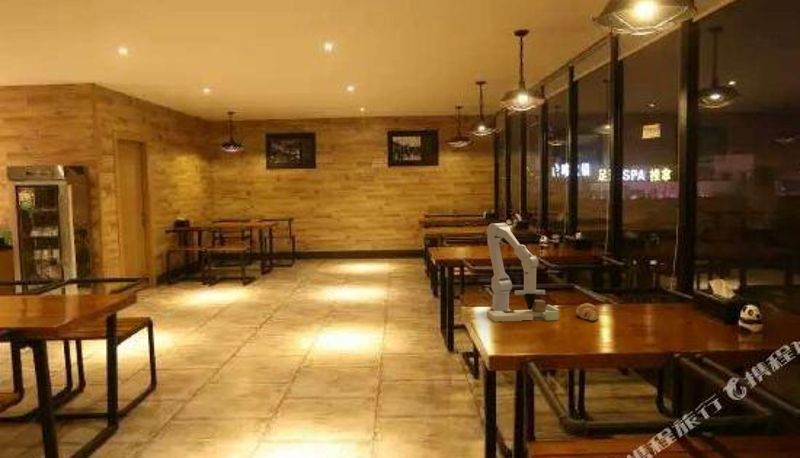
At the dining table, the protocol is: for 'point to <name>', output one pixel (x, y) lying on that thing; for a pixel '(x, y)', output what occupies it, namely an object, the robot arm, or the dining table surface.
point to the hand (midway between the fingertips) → (529, 309)
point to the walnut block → (539, 306)
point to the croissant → (587, 312)
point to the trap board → (524, 315)
